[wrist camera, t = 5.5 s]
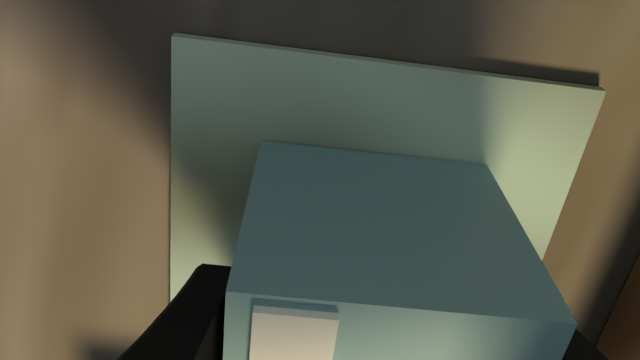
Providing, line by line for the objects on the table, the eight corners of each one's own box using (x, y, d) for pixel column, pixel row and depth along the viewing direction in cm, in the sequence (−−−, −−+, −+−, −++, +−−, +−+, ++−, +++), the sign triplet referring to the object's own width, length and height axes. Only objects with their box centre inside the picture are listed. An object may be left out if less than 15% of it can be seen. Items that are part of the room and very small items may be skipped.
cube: (487, 164, 12) (581, 331, 8) (438, 332, 15) (489, 535, 10) (260, 140, 12) (224, 298, 8) (248, 315, 14) (214, 515, 10)
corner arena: (571, 464, 18) (615, 566, 15) (121, 424, 17) (84, 525, 14) (832, -41, 11) (1000, -17, 8) (90, -148, 10) (7, -160, 7)
